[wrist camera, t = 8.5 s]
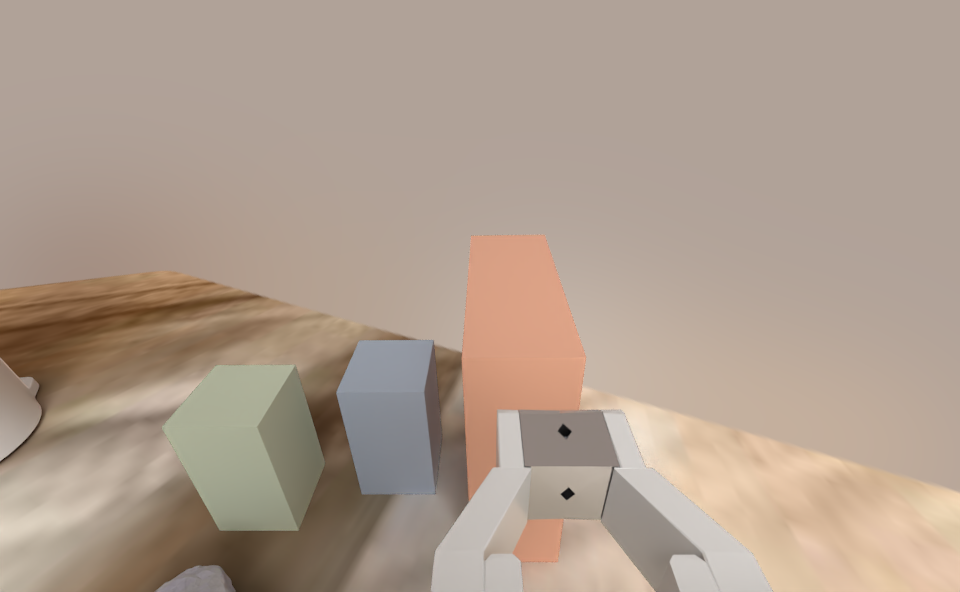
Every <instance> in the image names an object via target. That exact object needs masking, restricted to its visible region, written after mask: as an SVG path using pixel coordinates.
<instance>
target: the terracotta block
mask: <svg viewBox="0 0 960 592" xmlns="http://www.w3.org/2000/svg"><path fill="white" fill-rule="evenodd" d="M585 362H586V356H585V353H584V350H583V347H582V344H581V341H580V338H579V335H578V332H577V329H576V326H575V323H574V320H573V317H572V314H571V311H570V308H569V305H568V302H567V299H566V297H565V294H564V291H563V287H562V285H561V282H560V279H559V276H558V273H557V270H556V267H555V264H554V261H553V258H552V255H551V252H550V249H549V246H548V243H547V240H546V237H545V235H484V236H471V247H470V258H469V271H468V284H467V297H466V310H465V324H464V336H463V349H462V374H463V395H464V415H465V436H466V456H467V477H468V497H469V501H470V500H471V498H472V497H473V495H474V494H475V492H476V491H477V489H478V488H479V487H480V485H481V484H482V482H483V481H484V479H485V478H486V476H487V475H488V474H489V472H490V471H491V469H492V468H493V467H496V430H497V409H502V410H556V411H558V410H579V405H580V398H581V391H582V384H583V377H584V369H585ZM563 520H564V519H535V520H527V524H526V526H525V528H524V530H523V532H522V534H521V536H520V538H519V540H518V542H517V544H516V547H515V549H514V551H513V553H512V554H514V555H515V556H516V557H517V558H518V559H519V560H520V561H521V562H558V556H559V549H560V541H561V534H562V527H563Z"/></svg>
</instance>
